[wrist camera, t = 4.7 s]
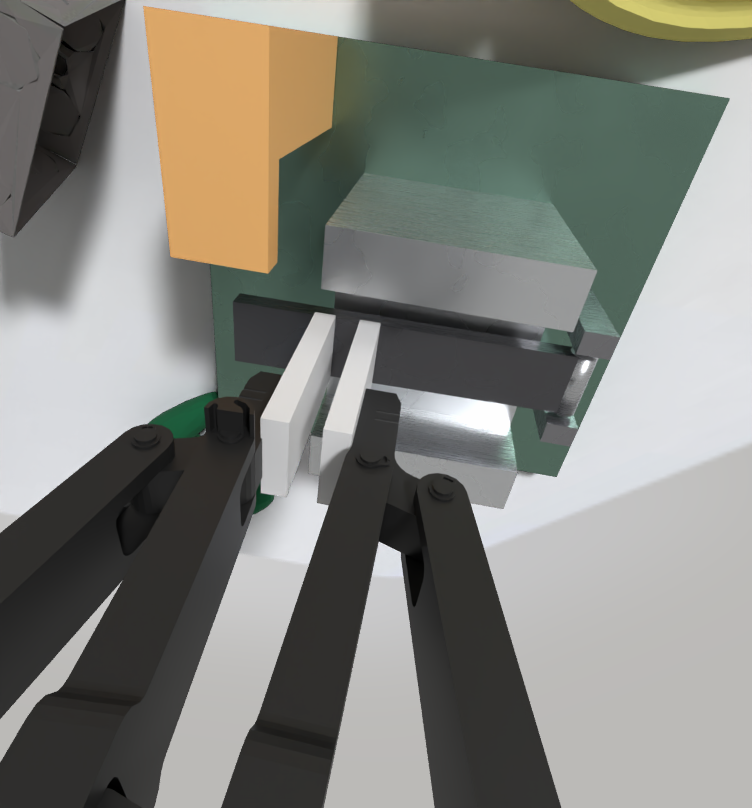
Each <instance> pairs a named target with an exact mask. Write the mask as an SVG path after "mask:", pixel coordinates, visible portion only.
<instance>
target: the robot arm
mask: <svg viewBox="0 0 752 808" xmlns="http://www.w3.org/2000/svg"><path fill="white" fill-rule="evenodd" d="M335 319H336V315H331V314H325V313H319V312H315V314H314V315H313V317H312V319H311V321H310V323H309V325H308V327H307V329H306V331H305V333H304V335H303V337H302V339H301V341H300V343H299V344H298V346H297V348H296V350H295V352H294V354H293V356H292V358H291V360H290V362H289V364H288V366H287V368H286V370H285V372H284V373H283V375H280V374H274V373H269V372H263V371H260V372H259V373H257V374H256V375H254V376H253V377H251V378H250V379H249V380H248V382H247V383H246V385H245V387H244V390H242V392H241V393H240V395H239V397H222V398H217V399H215V400H213V401H210V402H209V403H208V404H207V405H206V406H205V407H204V415H205V426H206V433H205V435H203V436H200V437H193V438H173V434H172V432H171V431H170V429H168V428H166V427H164V426H162V425H156V424H145V425H140V426H136V427H133V428H131V429H130V430H128V431H126V432H124V433H123V434H122V435H121V436H120V437H118V438H117V439H116V440H115V441H113V442H112V443H111V444H110V445H108V446H107V447H106V448H105V449H103V450H102V451H101V452H100V453H99V454H97V455H96V456H95V457H94V458H92V459H91V460H90V461H89V462H87V463H86V464H85V465H84V466H82V467H81V468H80V469H79V470H78V471H76V472H75V473H74V474H73V475H71V476H70V477H69V478H68V479H66V480H65V481H64V482H63V483H61V484H60V485H59V486H58V487H57V488H55V489H54V490H53V491H52V492H50V493H49V494H48V495H47V496H45V497H44V498H43V499H42V500H40V501H39V502H38V503H37V504H35V505H34V506H33V507H32V508H31V509H29V510H28V511H27V512H26V513H24V514H23V515H22V516H21V517H19V518H18V519H17V520H16V521H14V522H13V523H12V524H11V525H10V526H8V527H7V528H6V529H5V530H3V531H2V532H1V533H0V719H1V718H2V716H3V715H4V714H5V713H6V712H7V711H8V710H9V708H10V707H11V706H12V705H13V704H14V703H15V702H16V700H17V699H18V698H19V697H20V696H21V695H22V694H23V693H24V691H25V690H26V689H27V688H28V687H29V686H30V685H31V683H32V682H33V681H34V680H35V679H36V678H37V677H38V676H39V674H40V673H41V672H42V671H43V670H44V669H45V668H46V666H47V665H48V664H49V663H50V662H51V661H52V660H53V658H54V657H55V656H56V655H57V654H58V653H59V652H60V650H61V649H62V648H63V647H64V646H65V645H66V644H67V643H68V641H69V640H70V639H71V638H72V637H73V636H74V635H75V634H76V632H77V631H78V630H79V629H80V628H81V627H82V626H83V624H84V623H85V622H86V621H87V620H88V619H89V618H90V616H91V615H92V614H93V613H94V612H95V611H96V610H97V609H98V607H99V606H100V605H101V604H102V603H103V602H104V600H105V599H106V598H107V597H108V596H109V595H110V594H111V592H112V591H113V590H114V589H115V588H116V587H117V586H118V585H119V583H120V582H121V581H122V580H123V581H122V583H121V584H120V587H119V588H118V590H117V592H116V593H115V595H114V597H113V599H112V600H111V602H110V604H109V606H108V608H107V609H106V611H105V613H104V615H103V617H102V618H101V620H100V622H99V624H98V626H97V627H96V629H95V631H94V633H93V634H92V636H91V638H90V640H89V642H88V643H87V645H86V647H85V649H84V650H83V652H82V654H81V656H80V658H79V659H78V661H77V663H76V665H75V667H74V668H73V670H72V672H71V674H70V676H69V677H68V679H67V680H66V682H65V683H64V685H63V686H62V687H61V688H60V689H59V690H58V691H57V692H54V693H51V694H48V695H45V696H44V697H43V698H42V699H41V700H40V701H39V702H38V703H37V704H36V705H35V707H34V708H33V710H32V711H31V713H30V714H29V715H28V717H27V718H26V720H25V722H24V723H23V725H22V727H21V728H20V730H19V732H18V733H17V735H16V737H15V739H14V740H13V742H12V744H11V745H10V747H9V749H8V750H7V752H6V754H5V756H4V757H3V759H2V761H1V762H0V808H154V806H155V802H156V798H157V794H158V790H159V783H160V776H161V770H162V766H163V762H164V759H165V756H166V753H167V750H168V747H169V745H170V741H171V739H172V736H173V733H174V731H175V728H176V725H177V722H178V720H179V717H180V714H181V711H182V708H183V706H184V703H185V700H186V697H187V694H188V692H189V689H190V686H191V683H192V681H193V678H194V675H195V672H196V670H197V667H198V664H199V661H200V659H201V656H202V653H203V650H204V647H205V645H206V642H207V639H208V636H209V634H210V630H211V628H212V625H213V622H214V620H215V617H216V614H217V611H218V609H219V606H220V603H221V600H222V598H223V595H224V592H225V589H226V587H227V584H228V581H229V578H230V575H231V573H232V570H233V567H234V564H235V562H236V559H237V556H238V553H239V551H240V548H241V545H242V542H243V539H244V537H245V534H246V531H247V528H248V526H249V523H250V520H251V517H252V515H253V512H254V509H255V506H256V490H257V488H258V486H259V484H260V481H261V493H264V494H270V495H276V496H281V497H287V495H288V493H289V490H290V487H291V484H292V482H293V479H294V476H295V473H296V471H297V468H298V465H299V462H300V460H301V457H302V454H303V451H304V449H305V446H306V443H307V441H308V438H309V435H310V432H311V430H312V427H313V424H314V421H315V419H316V416H317V413H318V410H319V408H320V405H321V402H322V399H323V397H324V394H325V391H326V389H327V386H328V383H329V380H330V375H331V364H332V353H333V342H334V330H335ZM380 325H381V323H377V322H371V321H366V320H360V321H359V324H358V327H357V330H356V333H355V336H354V339H353V342H352V345H351V348H350V351H349V354H348V357H347V360H346V363H345V366H344V369H343V372H342V375H341V378H340V381H339V384H338V387H337V390H336V393H335V396H334V399H333V402H332V405H331V408H330V411H329V414H328V417H327V420H326V423H325V426H324V429H323V439H322V450H321V462H320V474H319V486H318V497H317V503H320V504H325V505H329V507H328V510H327V513H326V516H325V519H324V522H323V525H322V528H321V531H320V534H319V537H318V540H317V543H316V546H315V549H314V552H313V555H312V558H311V561H310V564H309V567H308V570H307V573H306V576H305V578H304V581H303V585H302V587H301V590H300V593H299V596H298V599H297V602H296V605H295V608H294V612H293V614H292V617H291V621H290V623H289V626H288V629H287V633H286V635H285V638H284V641H283V644H282V647H281V650H280V653H279V656H278V659H277V662H276V665H275V668H274V671H273V674H272V677H271V680H270V683H269V686H268V689H267V692H266V695H265V698H264V701H263V704H262V707H261V710H260V713H259V715H258V718H257V721H256V722H255V724H254V725H253V727H252V728H251V729H250V730H249V732H248V734H247V736H246V739H245V742H244V744H243V746H242V749H241V752H240V755H239V757H238V760H237V763H236V766H235V769H234V772H233V775H232V778H231V781H230V784H229V786H228V789H227V792H226V795H225V798H224V801H223V804H222V807H221V808H324V803H325V798H326V793H327V788H328V783H329V779H330V774H331V769H332V764H333V759H334V755H335V750H336V745H337V739H338V735H339V730H340V726H341V721H342V716H343V711H344V706H345V701H346V696H347V691H348V687H349V682H350V677H351V672H352V668H353V663H354V657H355V653H356V648H357V643H358V638H359V634H360V629H361V624H362V619H363V614H364V609H365V605H366V599H367V595H368V590H369V585H370V581H371V576H372V571H373V566H374V561H375V557H376V552H377V548H378V543H379V542H381V543H383V544H385V545H387V546H389V547H391V548H393V549H395V550H397V551H400V552H401V561H402V568H403V576H404V583H405V591H406V598H407V605H408V613H409V620H410V628H411V635H412V643H413V649H414V658H415V665H416V672H417V680H418V686H419V694H420V702H421V709H422V717H423V724H424V731H425V739H426V747H427V754H428V761H429V769H430V776H431V783H432V791H433V798H434V806H435V808H561V805H560V802H559V799H558V795H557V792H556V789H555V785H554V782H553V779H552V775H551V772H550V769H549V765H548V762H547V758H546V755H545V752H544V748H543V745H542V742H541V738H540V735H539V732H538V728H537V725H536V722H535V718H534V715H533V711H532V708H531V705H530V701H529V698H528V695H527V692H526V688H525V685H524V681H523V678H522V675H521V672H520V668H519V665H518V662H517V658H516V655H515V652H514V648H513V645H512V641H511V638H510V635H509V631H508V628H507V624H506V621H505V618H504V614H503V611H502V608H501V605H500V601H499V598H498V594H497V591H496V588H495V584H494V581H493V577H492V574H491V571H490V568H489V564H488V561H487V557H486V554H485V551H484V547H483V544H482V541H481V537H480V534H479V531H478V527H477V524H476V520H475V517H474V514H473V510H472V507H471V504H470V500H469V497H468V494H467V491H466V489H465V487H464V486H463V484H461V483H460V482H459V481H458V480H457V479H455V478H453V477H451V476H449V475H446V474H440V473H433V474H428V475H425V476H423V477H422V478H421V479H419V478H416V477H414V476H412V475H410V474H408V473H406V472H405V471H404V470H403V469H401V468H400V466H399V465H398V464H397V462H396V459H395V447H396V440H397V433H398V425H399V418H400V411H401V402H400V400H399V398H398V396H397V394H396V393H390V392H384V391H379V390H373V389H371V386H372V379H373V373H374V366H375V359H376V352H377V345H378V338H379V332H380Z"/></svg>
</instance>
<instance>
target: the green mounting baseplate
mask: <svg viewBox="0 0 752 808" xmlns="http://www.w3.org/2000/svg"><path fill="white" fill-rule="evenodd" d="M216 18H217V17H216ZM235 21H236V20H235ZM729 99H730V98H724V97H718V96H711V95H705V94H699V93H692V92H686V91H680V90H673V89H667V88H661V87H654V86H648V85H642V84H635V83H629V82H623V81H616V80H610V79H603V78H597V77H591V76H584V75H578V74H572V73H565V72H559V71H553V70H546V69H540V68H534V67H527V66H521V65H515V64H508V63H502V62H496V61H489V60H483V59H477V58H470V57H464V56H458V55H451V54H445V53H439V52H432V51H426V50H420V49H413V48H407V47H400V46H394V45H388V44H381V43H375V42H369V41H362V40H356V39H350V38H343V37H338V42H337V56H336V71H335V86H334V100H333V115H332V128H330V129H328V130H327V131H325V132H323V133H322V134H320V135H318V136H317V137H315V138H314V139H312V140H310V141H309V142H307V143H305V144H304V145H302V146H300V147H299V148H297V149H295V150H294V151H292V152H290V153H289V154H287V155H285V156H284V157H282V158H280V159H279V194H278V257H277V264H276V265H275V266H274V267H273V268H272V269H271V271H270V272H269V273H268V274H267V273H261V272H255V271H250V270H244V269H238V268H232V267H226V266H221V265H215V264H210V272H211V287H212V303H213V319H214V335H215V351H216V366H217V382H218V398H222V397H239V395H240V393H241V392H242V390H244V387H245V385H246V383H247V382H248V380H249V379H250V378H251V377H253V376H254V375H256V374H257V373H259V372H260V371H263V372H269V373H274V374H280V375H283V373H284V372H285V370H286V369H283V368H277V367H270V366H264V365H258V364H252V363H246V362H240V361H235V348H234V322H233V301H234V300H235V298H236V297H237V296H238V295H239V293H242V294H248V295H254V296H261V297H267V298H273V299H279V300H285V301H292V302H298V303H304V304H310V305H316V306H323V307H329V308H335V309H341V310H347V311H354V312H360V313H366V314H372V315H378V316H385V317H391V318H397V319H403V320H409V321H416V322H422V323H428V324H434V325H440V326H447V327H453V328H459V329H465V330H471V331H478V332H484V333H490V334H496V335H502V336H509V337H515V338H521V339H527V340H533V341H540V342H546V343H552V344H558V345H564V346H571V347H573V349H574V351H575V353H576V354H577V355H583V356H589V357H595V358H599V359H598V361H597V363H596V365H595V368H594V370H593V372H592V374H591V377H590V379H589V381H588V383H587V386H586V388H585V390H584V392H583V395H582V397H581V399H580V401H579V404H578V406H577V408H576V411H575V413H574V415H573V416H571V417H563V416H560V415H557V414H555V413H554V412H548V411H542V410H535V409H529V408H523V407H517V406H511V405H505V404H498V403H492V402H486V401H480V400H474V399H468V398H461V397H455V396H449V395H443V394H437V393H431V392H425V391H418V390H412V389H406V388H400V387H394V386H388V385H381V384H375V383H372V386H371V389H373V390H379V391H384V392H390V393H396V394H397V396H398V398H399V400H400V402H401V411H400V418H399V425H398V433H397V440H396V447H395V459H396V462H397V464H398V465H399V466H400V468H401V469H403V470H404V471H405V472H406V473H408V474H410V475H412V476H414V477H416V478H419V479H421V478H422V477H423V476H425V475H428V474H433V473H440V474H446V475H449V476H451V477H453V478H455V479H457V480H458V481H459V482H460V483H461V484H463V486H464V487H465V489H466V491H467V494H468V497H469V500H470V503H472V504H478V505H483V506H489V507H494V508H500V509H504V506H505V503H506V501H507V498H508V496H509V493H510V491H511V488H512V486H513V483H514V481H515V478H516V476H517V473H518V472H517V470H520V471H526V472H531V473H537V474H542V475H548V476H553V477H557V475H558V472H559V470H560V468H561V466H562V464H563V462H564V459H565V457H566V455H567V453H568V451H569V448H570V446H571V444H572V442H573V440H574V438H575V435H576V433H577V431H578V429H579V427H580V424H581V422H582V420H583V418H584V416H585V414H586V411H587V409H588V407H589V405H590V403H591V400H592V398H593V396H594V394H595V392H596V390H597V387H598V385H599V383H600V381H601V379H602V376H603V374H604V372H605V370H606V368H607V366H608V363H609V361H610V359H611V357H612V355H613V352H614V350H615V348H616V346H617V344H618V342H619V339H620V337H621V335H622V333H623V331H624V328H625V326H626V324H627V322H628V320H629V318H630V315H631V313H632V311H633V309H634V307H635V304H636V302H637V300H638V298H639V296H640V294H641V291H642V289H643V287H644V285H645V283H646V280H647V278H648V276H649V274H650V272H651V270H652V267H653V265H654V263H655V261H656V259H657V256H658V254H659V252H660V250H661V248H662V246H663V243H664V241H665V239H666V237H667V235H668V232H669V230H670V228H671V226H672V224H673V222H674V219H675V217H676V215H677V213H678V211H679V208H680V206H681V204H682V202H683V200H684V198H685V195H686V193H687V191H688V189H689V187H690V184H691V182H692V180H693V178H694V176H695V174H696V171H697V169H698V167H699V165H700V163H701V160H702V158H703V156H704V154H705V152H706V150H707V147H708V145H709V143H710V141H711V139H712V136H713V134H714V132H715V130H716V128H717V126H718V123H719V121H720V119H721V117H722V115H723V112H724V110H725V108H726V106H727V104H728V102H729ZM339 381H340V378H338V377H332V376H330V380H329V383H328V386H327V389H326V391H325V394H324V397H323V399H322V402H321V405H320V408H319V410H318V413H317V416H316V419H315V421H314V424H313V427H312V430H311V432H310V433H312V434H311V441H310V455H309V470H308V474H313V475H319V474H320V462H321V450H322V439H323V429H324V426H325V423H326V420H327V417H328V414H329V411H330V408H331V405H332V402H333V399H334V396H335V393H336V390H337V387H338V384H339Z"/></svg>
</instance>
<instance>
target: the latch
mask: <svg viewBox="0 0 752 808" xmlns="http://www.w3.org/2000/svg"><path fill="white" fill-rule="evenodd" d="M143 8H144V17H145V26H146V36H147V45H148V54H149V63H150V72H151V82H152V91H153V100H154V109H155V118H156V127H157V137H158V146H159V155H160V164H161V173H162V183H163V192H164V201H165V210H166V219H167V229H168V238H169V247H170V256H171V257H174V258H180V259H186V260H191V261H197V262H203V263H209V264H215V265H221V266H226V267H232V268H238V269H244V270H250V271H255V272H261V273H267V274H268V273H269V272H270V271H271V269H272V268H273V267H274V266H275V265H276V264H277V257H278V194H279V159H280V158H282V157H284V156H285V155H287V154H289V153H290V152H292V151H294V150H295V149H297V148H299V147H300V146H302V145H304V144H305V143H307V142H309V141H310V140H312V139H314V138H315V137H317V136H318V135H320V134H322V133H323V132H325V131H327V130H328V129H330V128H332V115H333V100H334V86H335V71H336V56H337V42H338V37H337V36H331V35H324V34H318V33H312V32H305V31H299V30H293V29H286V28H280V27H274V26H267V25H261V24H255V23H248V22H242V21H235V20H229V19H223V18H216V17H210V16H204V15H197V14H191V13H184V12H178V11H172V10H165V9H159V8H153V7H146V6H143Z"/></svg>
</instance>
